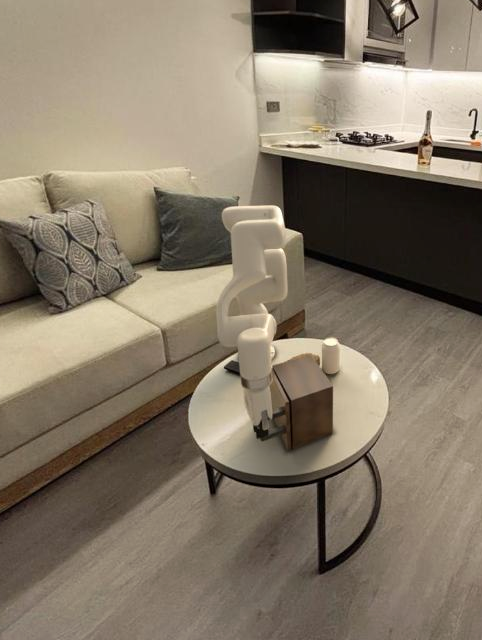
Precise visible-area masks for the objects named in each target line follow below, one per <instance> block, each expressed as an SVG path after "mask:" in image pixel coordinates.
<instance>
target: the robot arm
mask: <svg viewBox="0 0 482 640" xmlns="http://www.w3.org/2000/svg"><path fill="white" fill-rule="evenodd" d="M221 221H222V224H223V226H224V228H225V229H226V230H227V231H228V233H230V244H231V262H232V263H231V264H232V277H231V279H230V280H229V282H228V283H227V284H226V285H225V286H224V288H223V289H222V291H221V293H220V295H219V298H218V299H217V304H216V332H217V339H218V342H219V344H220V345H221V346H223V347H226V348H233V347H237V357H238V366H239V377H240V385H241V387H242V388H243V402H244V407H245V410H246V412H247V415H248V417H249V420H250V422H251V424H252V431H253V432H254V433H255V438H256V439H257V440H260V438H262V437H265V436H267V435H269V430H270V426H269V422H270V421H272V420H273V419H272V403H271V395H270V394H271V393H270V387H269V385H270V384H271V383H272V380H273V379H272V366H273V365H272V360H273V358H274V357H275V355H276V349H275V347H274V346H273V345H272V343H273V340H274V337H275V335H276V333H277V321H276V319H275V317H274V315H272V314H271V313H269V312H268V309H267V307H266V306H265V305H264V304H268V303H276V302H282V301H284V300H285V299H287V296H288V291H289V290H288V289H289V288H288V287H289V286H288V268H287V267H288V265H287V256H286V253H285V250H284V249H282V248H283V247H285V244H286V240H287V239H286V238H287V234H286V226H285V221H284V216H283V212H282V210H281V208H280V207H279V206H277V205H237V206H236V205H235V206H228V207H225V208H224V209H223V210H222V212H221ZM234 298H236V301H237V305H238V311H239V315H232V316H229V307H230V304H231V302H232V300H233V299H234ZM268 419H269V421H268ZM271 419H272V420H271ZM261 420H262V422H261V423H260V421H261Z"/></svg>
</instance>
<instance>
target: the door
mask: <svg viewBox="0 0 482 640" xmlns="http://www.w3.org/2000/svg"><path fill="white" fill-rule="evenodd" d="M272 379H273V380H272V383H271V384H270V385H269V387H270V393H271V394H270V395H271V403H272V419H271V421H272V420H274V422H275V424H276V427H273V428H271V429H269V435H267V436H265V437H262V438H259V441H260V442H265V441H269V440H271V439H274V438H276V437H279V436H280V437H281V438H282V440H283V443H284V445H285V447H286V450H287V451H291V450H292V445H291V433H290V411H289V401H288V399H287V397H286V395H285V393H284V391H283V389H282V387H281V385H280V383H279V381H278V379H277V377H276V375H275V373H274V371H273V369H272ZM261 422H262V420H261V421H260V423H261ZM268 422H270V420H269V419H268Z"/></svg>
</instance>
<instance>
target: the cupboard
mask: <svg viewBox="0 0 482 640" xmlns="http://www.w3.org/2000/svg"><path fill="white" fill-rule="evenodd" d="M289 360H290V359H289ZM286 361H287V360H286ZM272 369H273V371H274V373H275V375H276V377H277V379H278V381H279V383H280V385H281V387H282V389H283V391H284V393H285V395H286V397H287V399H288V401H289V411H290V433H291V448H292V450H294V449H296V448H299V447H301V446H304V445H307V444H308V443H309V444H310V443H311V442H313V441H316V440H319V439H321V438H324V437H327V436H329V435H331V434H333V433H334V385H333V384H332V382H331V381H330V380H329V378H328V377H327V375H326V373H325V372H324V371H323V370H322V367H321V366H319V365H318V364H317V363H316V361H315V360H314V358H313V357H312V356H311V355H307V356H304V357H300V358H297V359H293V360H290V361H287V362H285V361H284V362H280V363H276V364H273V365H272Z"/></svg>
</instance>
